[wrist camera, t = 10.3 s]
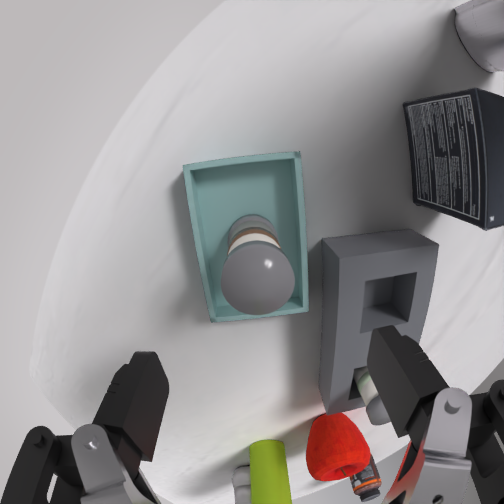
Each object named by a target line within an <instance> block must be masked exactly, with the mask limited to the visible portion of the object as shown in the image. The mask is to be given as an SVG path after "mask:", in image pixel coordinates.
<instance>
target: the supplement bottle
mask: <svg viewBox="0 0 504 504" xmlns="http://www.w3.org/2000/svg"><path fill="white" fill-rule="evenodd" d="M349 477H350V480H351V484H352V487H353V491H354V493H355V494H356V495H359V496H360V498H361V501H362V502H365V501H369V500H372V499H374V498H376V497H378V496H379V495H380V492H379V490H378V488H379V487H380V486H381V479H380V476H379V473H378V470H377V468H376V465H375V462H374V459H373V457H372V454H370V460H369V464H368V465H367V466H366V468H364V469H363V470H362V471H361V472H359V473H357V474H354V475H352V476H349Z"/></svg>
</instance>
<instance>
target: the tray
mask: <svg viewBox="0 0 504 504" xmlns="http://www.w3.org/2000/svg"><path fill="white" fill-rule="evenodd" d="M183 172H184V179H185V186H186V193H187V199H188V206H189V212H190V218H191V224H192V230H193V235H194V241H195V246H196V252H197V257H198V262H199V268H200V273H201V278H202V283H203V288H204V292H205V297H206V302H207V306H208V311H209V316H210V320H211V322H223V321H234V320H244V319H254V318H263V317H271V316H279V315H287V314H294V313H302V312H309V301H308V262H307V238H306V220H305V204H304V190H303V178H302V166H301V155H300V151H299V152H285V153H272V154H262V155H252V156H243V157H234V158H227V159H219V160H212V161H205V162H199V163H193V164H187V165H183ZM248 214H257V215H261V216H263V217H265V218H267V219H268V220H269V221H270V222H271V223H272V224H273V226H274V228H275V230H276V232H277V235H278V240H279V244H280V247H281V249H282V251H283V252H284V253H285V255H286V256H287V258H288V260H289V263H290V265H291V267H292V270H293V273H294V277H295V285H294V290H293V293H292V295H291V297H290V298H289V300H288V301H287V302H286V303H285V304H284V305H283V306H282V307H281V308H279V309H278V310H276V311H274V312H272V313H269V314H265V315H249V314H245V313H242V312H240V311H238V310H236V309H235V308H233V307H232V306H231V305H230V304H229V303H228V302H227V301H226V299H225V298H224V296H223V293H222V290H221V275H222V269H223V264H224V261H225V259H226V257H227V252H228V244H227V241H228V234H229V230H230V228H231V226H232V224H233V223H234V222H235V221H236V220H237V219H238V218H240V217H242V216H244V215H248Z"/></svg>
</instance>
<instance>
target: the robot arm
mask: <svg viewBox="0 0 504 504" xmlns="http://www.w3.org/2000/svg"><path fill="white" fill-rule="evenodd" d="M455 11H456V17H455V25H456V29H457V32H458V35H459V37H460V39H461V41H462V43H463V45H464V47H465V48H466V50H467V51H468V53H469V54H470V55H471V57H472V58H473V59H474V60H475V61H476V63H477V64H478V65H479V66H481V67H482V68H483V69H485V70H486V71H489V72H496V71H504V0H471V1H468V2H466V3H464V4H462V5H460V6H458V7H456V8H455ZM367 368H368V372H369V375H370V377H371V379H372V381H373V383H374V385H375V387H376V389H377V392H378V394H379V396H380V398H381V400H382V402H383V405H384V407H385V409H386V411H387V413H388V416H389V418H390V420H391V422H392V425H393V427H394V429H395V431H396V434H397V436H398V438H400V437H402V436H405V435H408V434H409V436H410V439H411V440H410V442H409V444H408V447H407V450H406V454H405V456H404V458H403V461H402V464H401V466H400V469H399V471H398V474H397V476H396V479H395V481H394V483H393V485H392V487H391V489H390V490H389V492H388V493H387V495H386V496H385V498H384V500H383V501H382V503H381V504H462V502H463V499H464V495H465V492H466V488H467V484H468V480H469V475H470V474H471V476H472V479H473V481H474V484H475V487H476V490H477V493H478V496H479V499H480V501H481V504H504V454H503V451H502V449H501V448H500V445H499V443H498V441H497V439H496V437H495V435H494V433H495V432H496V431H497V433H498V435H499V437H500V439H501V441H502V443H503V444H504V380H498V381H496V382H495V383H493V385H492V386H491V388H490V389H489V391H488V392H487V393H481V394H475V395H468V394H467V393H466V392H465V391H463V390H462V389H459V388H453V387H452V388H450V387H449V386H448V385H447V383H446V382H445V380H444V379H443V377H442V376H441V374H440V373H439V372H438V370H437V369H436V367H435V366H434V365H433V363H432V362H431V361H430V360H429V359H428V356H427V355H426V354H425V352H424V353H423V350H422V348H421V347H420V346H419V344H418V343H417V342H416V341H415V340H413V339H412V338H410V337H409V336H407V335H403V336H401V334H400V333H399V332H398V330H397V329H396V328H395V326H393V325H389V326H384V327H380V328H375V329H373V331H372V334H371V340H370V346H369V351H368V356H367ZM168 395H169V382H168V379H167V377H166V374H165V372H164V370H163V367H162V365H161V363H160V360H159V358H158V355H157V354H156V353H155V352H139V351H137V352H135V353H134V354H133V356H132V358H131V361H130V363H129V364H124V365H123V366H122V367H121V368H120V369H119V370H118V371H117V372H116V373H115V375H114V377H113V380H112V382H111V385H110V386H109V388H108V390H107V393H106V394H105V396H104V398H103V401H102V403H101V405H100V407H99V409H98V411H97V414H96V416H95V418H94V420H93V422H92V424H87V425H84V426H81V427H80V428H78V429H77V430H76V431H75V433H74V434H73V435H63V436H55V435H54V434H53V433H52V432H51V431H50V429H48V428H47V427H45V426H37V427H35V428H33V429H32V430H30V431H29V433H28V434H27V436H26V438H25V440H24V443H23V444H22V447H21V449H20V451H19V454H18V456H17V458H16V461H15V463H14V466H13V468H12V471H11V474H10V476H9V479H8V482H7V484H6V487H5V490H4V493H3V496H2V499H1V503H0V504H161V502H160V501H159V499H158V498H157V496H156V494H155V493H154V491H153V490H152V488H151V486H150V485H149V483H148V481H147V479H146V478H145V476H144V474H143V472H142V471H141V469H140V468H139V466H140V462H141V460H142V461H149V462H152V459H153V454H154V450H155V446H156V442H157V438H158V434H159V430H160V426H161V422H162V418H163V414H164V410H165V406H166V402H167V399H168ZM53 473H54V474H55V475H57V476H58V477H57V480H56V484H55V487H54V490H53V493H52V497H51V501H50V503H48V501H47V492H48V489H49V486H50V482H51V479H52V476H53Z"/></svg>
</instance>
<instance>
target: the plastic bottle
mask: <svg viewBox="0 0 504 504" xmlns="http://www.w3.org/2000/svg"><path fill="white" fill-rule="evenodd" d="M232 483H233V487H234V494H235V504H252V503H251V478H250V466H245V467H240V468H237V469H236V470H235V471H234V472H233V476H232Z"/></svg>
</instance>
